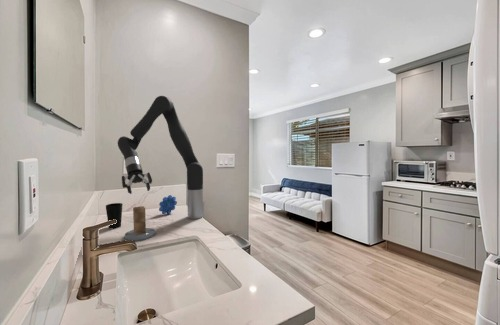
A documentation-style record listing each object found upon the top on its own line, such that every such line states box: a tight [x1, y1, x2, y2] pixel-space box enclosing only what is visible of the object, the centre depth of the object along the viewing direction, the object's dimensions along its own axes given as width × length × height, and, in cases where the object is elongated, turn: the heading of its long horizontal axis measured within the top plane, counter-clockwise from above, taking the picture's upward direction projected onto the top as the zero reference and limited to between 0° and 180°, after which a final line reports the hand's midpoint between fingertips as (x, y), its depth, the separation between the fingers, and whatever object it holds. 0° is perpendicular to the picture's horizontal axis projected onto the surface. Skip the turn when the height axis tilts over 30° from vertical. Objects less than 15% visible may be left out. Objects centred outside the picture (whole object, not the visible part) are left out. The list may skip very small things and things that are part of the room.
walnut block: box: [132, 205, 147, 235], centre depth 107 cm, size 4×4×12 cm
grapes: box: [158, 194, 178, 215], centre depth 144 cm, size 12×7×12 cm, turn 131°
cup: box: [105, 202, 123, 230], centre depth 119 cm, size 8×8×12 cm
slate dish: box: [124, 227, 156, 242], centre depth 107 cm, size 13×13×2 cm
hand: (139, 191), depth 118 cm, fingers open, 8 cm apart
